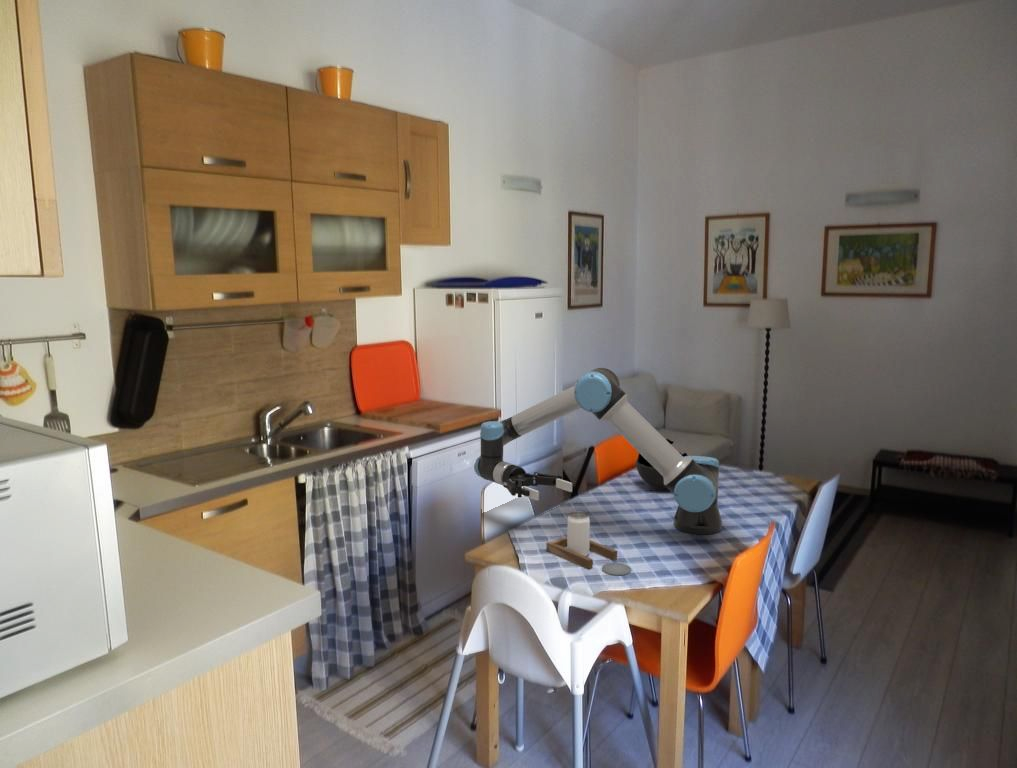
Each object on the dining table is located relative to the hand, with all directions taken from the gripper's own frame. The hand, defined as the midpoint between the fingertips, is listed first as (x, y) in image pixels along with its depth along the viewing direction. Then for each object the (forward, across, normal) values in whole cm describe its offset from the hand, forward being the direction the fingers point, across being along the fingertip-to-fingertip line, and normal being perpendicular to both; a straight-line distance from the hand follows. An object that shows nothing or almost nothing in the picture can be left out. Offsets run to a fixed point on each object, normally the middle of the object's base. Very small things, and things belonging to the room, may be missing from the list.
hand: (555, 491), depth 217 cm
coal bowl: (-17, -71, -16) cm, 75 cm away
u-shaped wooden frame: (+12, 0, -16) cm, 20 cm away
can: (+10, 0, -16) cm, 19 cm away
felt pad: (+25, 0, -16) cm, 30 cm away
